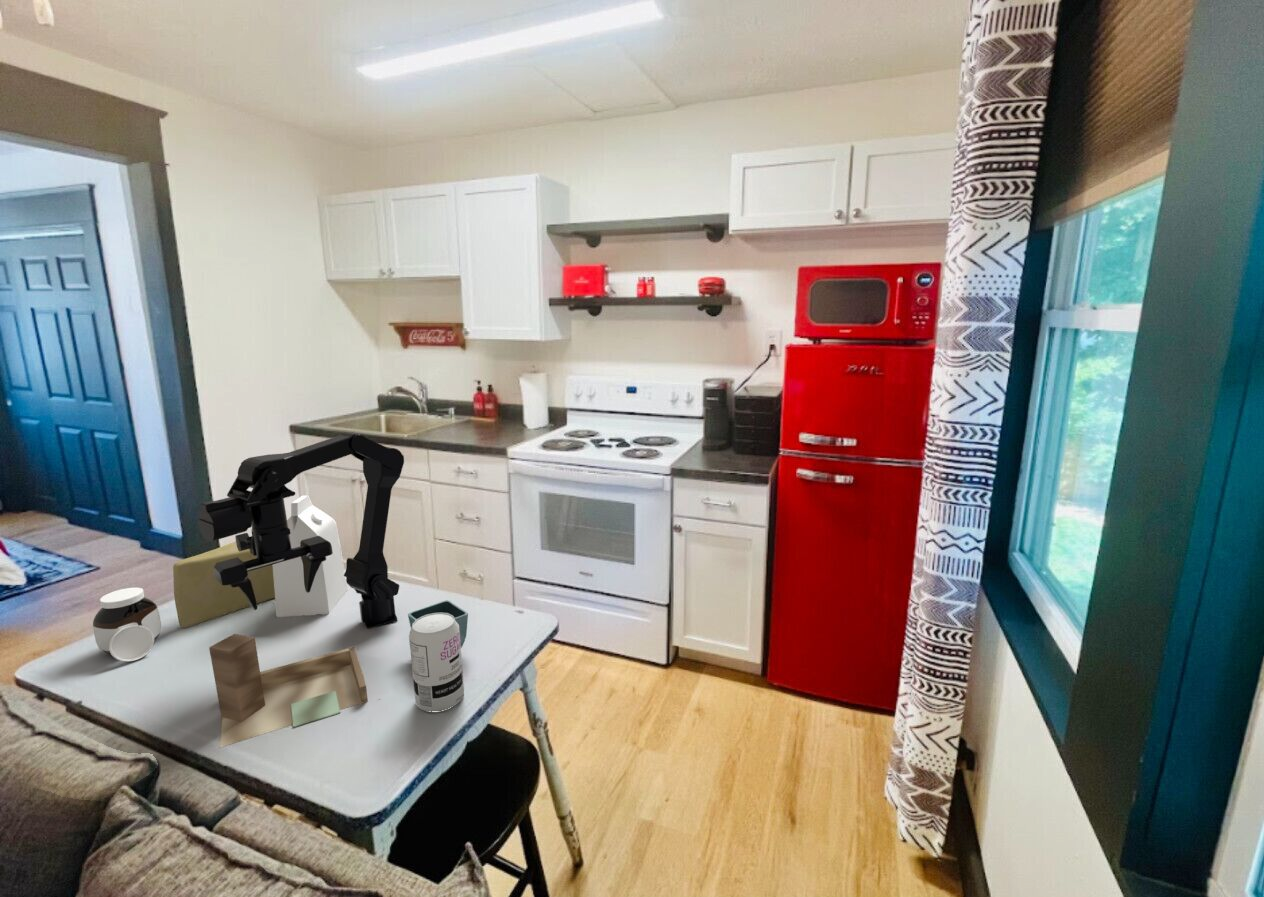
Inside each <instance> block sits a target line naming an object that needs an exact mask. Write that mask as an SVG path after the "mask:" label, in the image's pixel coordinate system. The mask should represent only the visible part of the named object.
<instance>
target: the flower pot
mask: <svg viewBox="0 0 1264 897" xmlns="http://www.w3.org/2000/svg"><path fill="white" fill-rule="evenodd" d="M432 613H448V614H451V615H453V617H454V618H455V621H456V622H457V623H458V625H459V632H460V644H461V649H462V648H463V646H464V644H465V641H466V638H467V632H468V621H469V620H468V619H469V612H467V611H466V610H464V609H463V608H461V607H459V606H458V605H456V604H455V603H453V602H452V601H451V600H448V599H446V600H442V601H440V602H437V603H433V604H432V605H428V606H425V607H422V608H419V609H417V610H413V611H411V612H409V613H407V616H408V622H409V627H410V629H411V628H412V625H413V623H414V622H415V620H417V619H418V618H420V617H422V616H425V615H427V614H432Z"/></svg>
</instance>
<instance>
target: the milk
mask: <svg viewBox="0 0 1264 897" xmlns="http://www.w3.org/2000/svg"><path fill="white" fill-rule="evenodd" d="M290 506H291V508H290V510H291V511H290V512H291V513H290V515H291V516H290V517H289V518H287V523H288V528H289V529H290V534H289V536H290V542H291V548H292V549H293V548H296V547H300V543H301V540H305V539H308V538H312V537H316V536H320V537H322V538H324V539H325V540H327V541H329V542H330V543H331V546H332V552H333V554H331V555H329V556H326V560H325V561H322V562H321V564H320V566H319V569H318V571H317V573H316V575H315V578H314V581H313V584H312V587H311V590H310V592H308V593H307V592H306V590H305V585H304V572H303V562H302V559H301V557H297V558H294V559H290V560H287V561H283V562H280V563H276V564H273V577H274V590H275V598H274V599H275V602H274V603H275V612H276V613H275V614H276V618H284V617H302V615H305V616H317V615H316V614H322V615H330V614H331V613H332V612H333V610H334V609H335V608H336V607H337V605H338V604H339V603H340V602H339V601H341V600H342V599H343V598H344V597H345V596H346V594H347V593H348V592H349V589H348V588H349V587H348V584H347V582H346V577H345V576H344V574H345V572H346V569H345V564H344V558H343V553H342V547H341V546H342V545H341V541H340V536H339V530H338V524H337V522H336V521H335V519H334V518H333V517H331V516H330V515H328V514H327V513H326V512H324V511H323V510H321V509H320V508H318V507H316V506H315V505H313V502H312V501H311V498H310V496H309V494H308V495H301V496H300V497H298V498H297V499H295V500H294V501H292V502H291V504H290ZM347 591H348V592H347ZM346 592H347V593H346ZM345 593H346V594H345ZM343 596H344V597H343ZM342 597H343V598H342ZM341 598H342V599H341ZM338 602H339V603H338ZM337 603H338V604H337ZM335 606H336V607H335ZM334 607H335V608H334ZM331 611H332V612H331ZM330 612H331V613H330ZM329 613H330V614H329Z"/></svg>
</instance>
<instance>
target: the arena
mask: <svg viewBox="0 0 1264 897" xmlns="http://www.w3.org/2000/svg"><path fill="white" fill-rule="evenodd" d="M356 651H357V650H356V647H355V646H352V647H349V648H344V649H341V650H337V651H334V652H330V653H327V654H322V655H318V656H315V657H311V658H307V659H303V660H299V661H296V662H293V663H288V664H284V665H281V666H277V667H274V668H270V669H266V670H261V671H260V675H261V681H262V687H263V694H264V700H265V706H264V707H263V708H261V709H260V710H258V711H257V712H255V713H254V714H253V715H251V716H250V717H248V718H247V719H245V720H244V721H243V722H240V721H236V720H231V719H227V718H223V717H222V721H221V730H220V732H221V733H220V742H219V748H223V747H226V746H230V745H233V744H236V743H240V742H242V741H245V740H249V739H252V738H254V737H259V736H262V735H264V734H268V733H271V732H275V731H278V730H281V729H284V728H287V727H290V726H292V728H298V727H300V726H303V725H307V724H309V723H313V722H316V721H319V720H323V719H326V718H329V717H332V716H334V715H338V714H340V713H341V711H342V710H344V709H347V708H350V707H351V708H352V707H353V706H356V705H360V704H363V703H367V702H368V700H369V699H368V692H367V691H368V690H367V683H366V681H365V677H364V675H363V671H362V668H361V665H360V661H359V658H358V654H357V652H356Z"/></svg>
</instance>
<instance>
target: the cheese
mask: <svg viewBox="0 0 1264 897" xmlns="http://www.w3.org/2000/svg"><path fill="white" fill-rule="evenodd" d="M237 557H238V558H239V559H240V560H241V561H242V562H245V561H249V560H252V559H256V558H257V556H253V555H252V553H250V550H249V549H247V550H244V551H238V548H237V544H236V541H233V542H230V543H228V544H225V545H222V546H220V547H217V548H215V549H212V550H208V551H206V552H202V553H200V554H197V555H193V556H190V557H186V558H184V559H181V560H179V561H176V562H175V563H174V564H173V567H172V569H173V596H174V603H175V604H174V605H175V609H176V615H177V620H178V624H179V626H180V628H183V629H186V628H190V627H193V626H195V625H199V624H202V623H203V622H207V621H211V620H213V619H216V618H219V617H221V616H225V615H227V614H231V613H233V612H236V611H240V610H242V609H245V608H249V607H252V606H251V604H250V602H249V601H248V599H247V598H246V596H245V595H244V593H243V592H242V590H241V589H240V588H239V587H231V586H230V585H222V584H221V583H220V582H219V581H218V580H217V579H216V578H215V574H214V566H215V565H216V563H218V562H222V561H226V560H229V559H233V558H237ZM247 573H248V576H247V577H248V578H249V579H250V580H251V583H252V587H253V591H254V594H255V598H256V602H257V604H260V603H264V602H266V601H269V600H272V599H275V590H274V577H273V565H269V566H266V567H262V568H258V569H255V570H251V571H248V572H247Z"/></svg>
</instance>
